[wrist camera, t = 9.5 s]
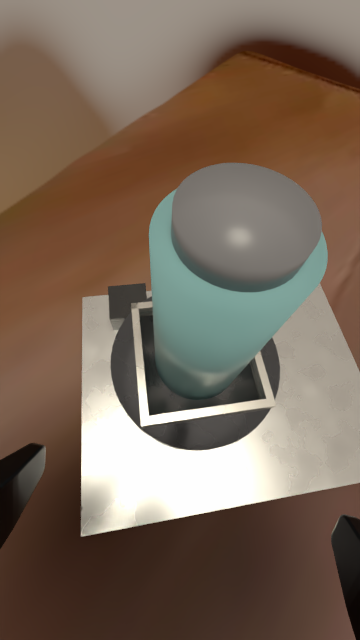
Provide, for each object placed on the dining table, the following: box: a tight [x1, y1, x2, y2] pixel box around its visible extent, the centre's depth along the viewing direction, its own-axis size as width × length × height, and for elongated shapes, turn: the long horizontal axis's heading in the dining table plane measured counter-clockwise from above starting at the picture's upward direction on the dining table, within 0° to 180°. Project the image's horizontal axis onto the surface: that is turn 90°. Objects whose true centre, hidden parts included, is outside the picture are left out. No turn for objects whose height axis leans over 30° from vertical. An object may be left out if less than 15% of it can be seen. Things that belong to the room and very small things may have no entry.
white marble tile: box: [81, 283, 360, 537], centre depth 21 cm, size 17×22×5 cm
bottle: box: [149, 163, 328, 400], centre depth 14 cm, size 6×6×13 cm
